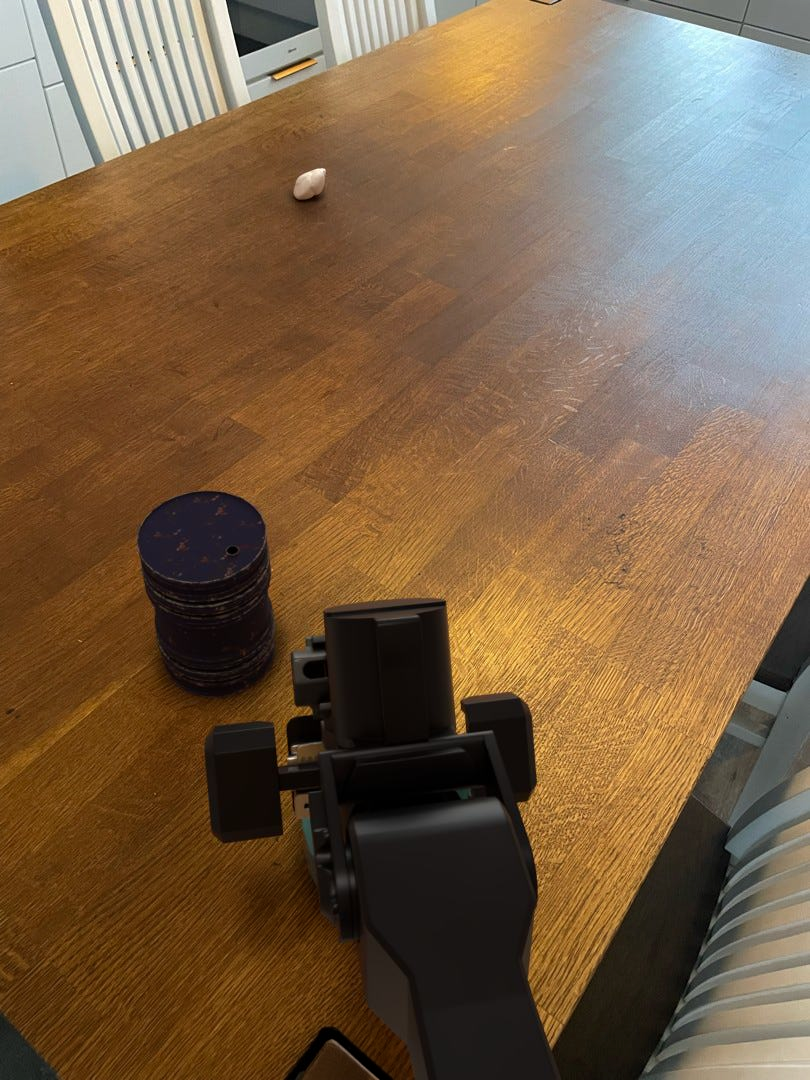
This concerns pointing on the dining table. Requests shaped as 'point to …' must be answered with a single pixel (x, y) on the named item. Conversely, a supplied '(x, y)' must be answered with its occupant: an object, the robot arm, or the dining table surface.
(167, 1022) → the dining table surface
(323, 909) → the robot arm
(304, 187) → the dumpling
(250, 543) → the dark blue cylinder
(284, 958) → the dining table surface
